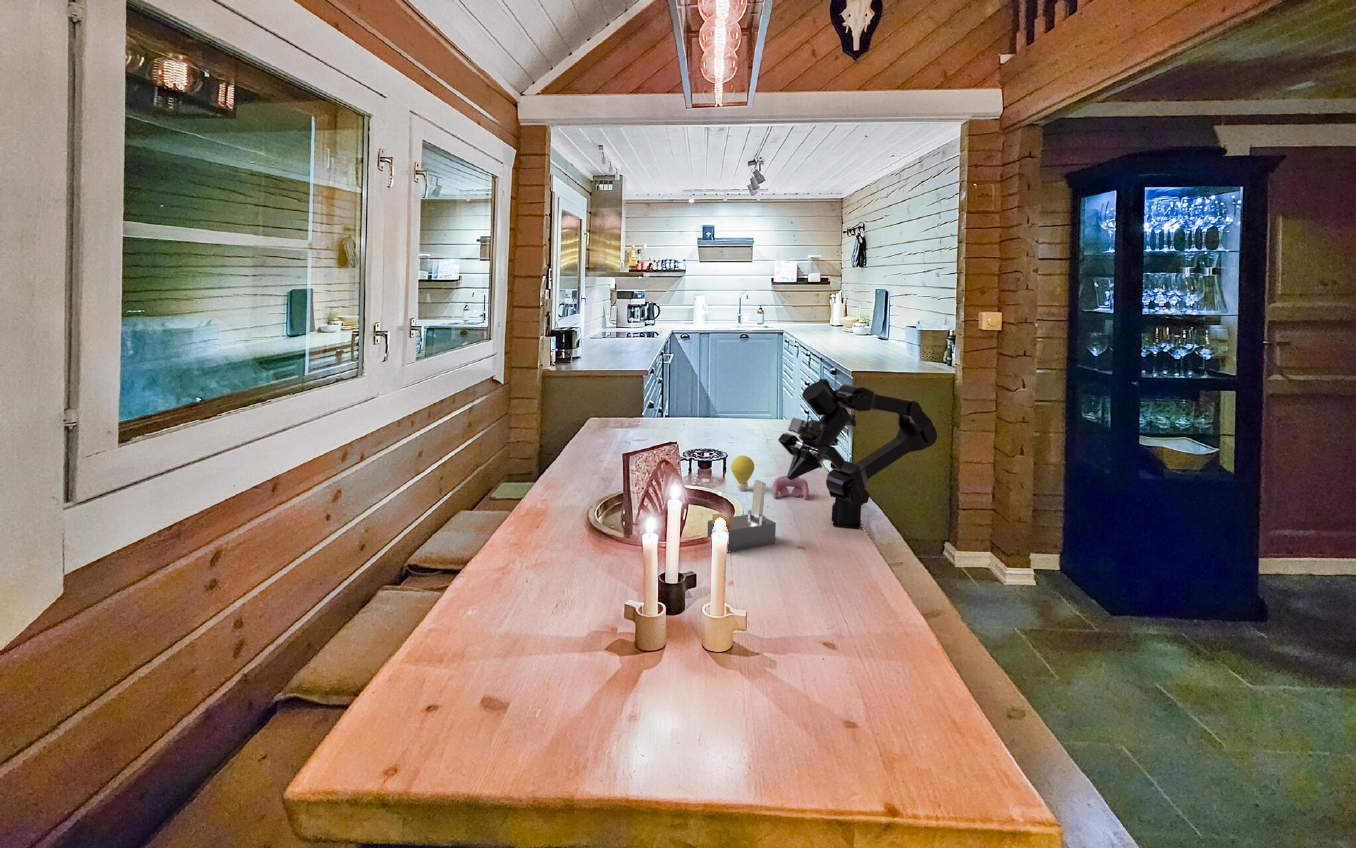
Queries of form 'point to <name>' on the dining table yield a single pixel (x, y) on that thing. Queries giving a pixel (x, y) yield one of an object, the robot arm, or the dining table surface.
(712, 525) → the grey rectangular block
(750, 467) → the light bulb
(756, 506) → the light grey flat bar
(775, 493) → the pink curved piece
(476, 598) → the dining table surface
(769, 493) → the dining table surface
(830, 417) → the robot arm
